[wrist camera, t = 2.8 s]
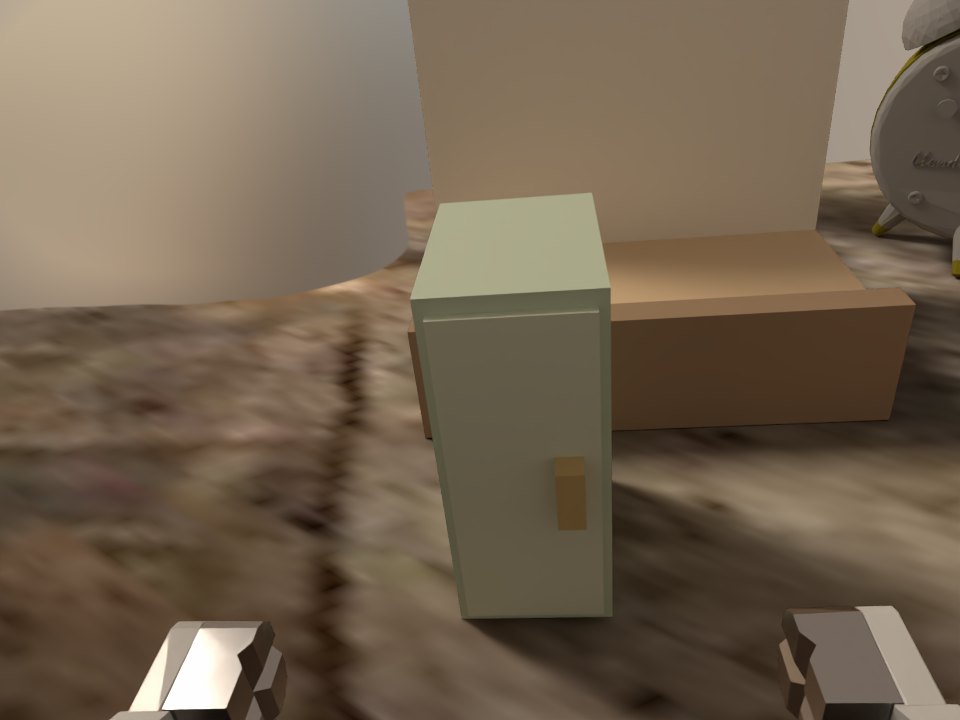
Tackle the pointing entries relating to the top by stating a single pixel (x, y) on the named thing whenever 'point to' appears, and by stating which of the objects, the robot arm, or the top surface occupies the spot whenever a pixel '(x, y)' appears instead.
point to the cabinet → (521, 402)
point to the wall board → (674, 191)
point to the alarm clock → (923, 128)
